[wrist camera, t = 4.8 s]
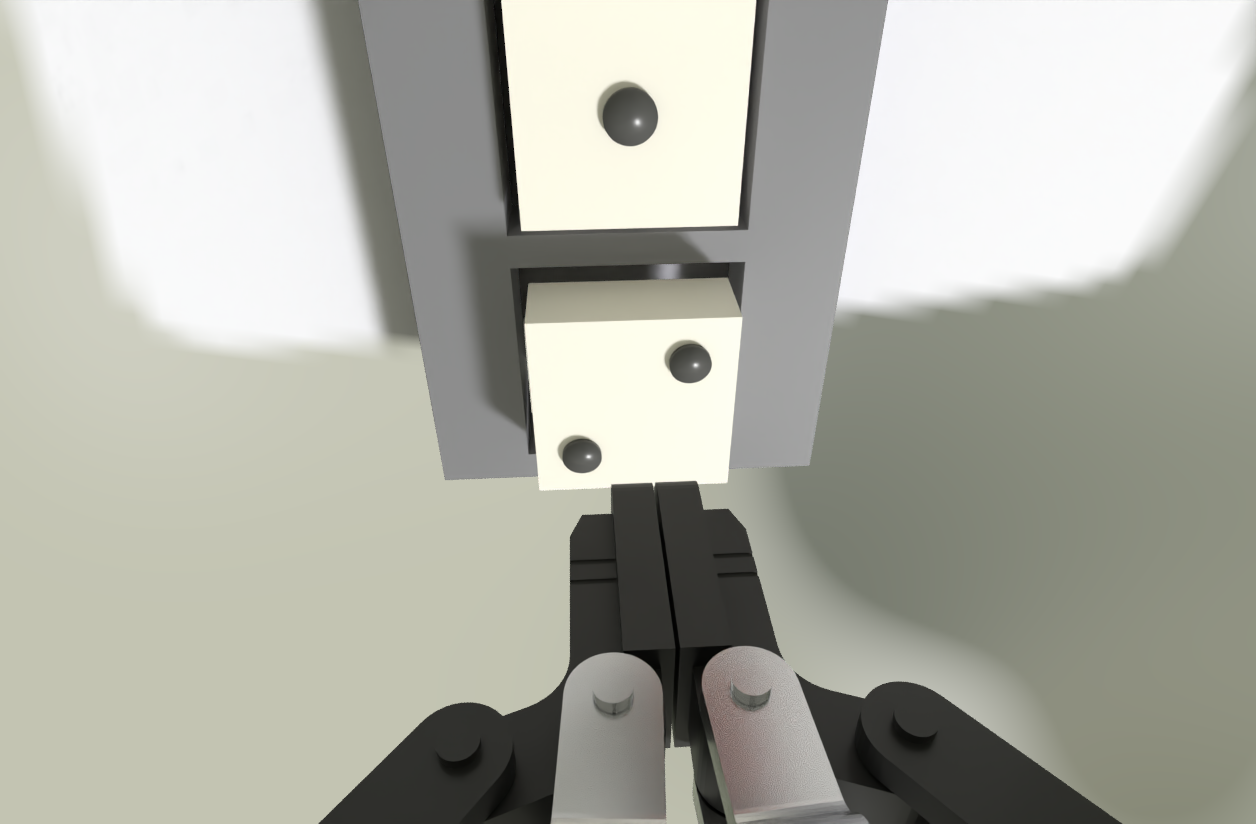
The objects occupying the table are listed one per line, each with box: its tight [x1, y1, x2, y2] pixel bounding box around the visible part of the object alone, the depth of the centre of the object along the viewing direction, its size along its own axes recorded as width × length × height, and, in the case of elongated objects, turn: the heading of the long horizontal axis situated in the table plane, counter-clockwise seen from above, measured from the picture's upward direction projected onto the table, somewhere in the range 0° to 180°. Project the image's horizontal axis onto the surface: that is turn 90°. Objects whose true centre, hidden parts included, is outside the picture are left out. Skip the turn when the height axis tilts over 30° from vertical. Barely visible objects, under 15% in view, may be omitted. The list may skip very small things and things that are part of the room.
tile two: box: [524, 278, 742, 490], centre depth 24 cm, size 6×6×3 cm
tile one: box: [501, 0, 756, 231], centre depth 21 cm, size 6×6×3 cm
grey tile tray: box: [358, 0, 888, 480], centre depth 22 cm, size 13×25×2 cm, turn 0°
